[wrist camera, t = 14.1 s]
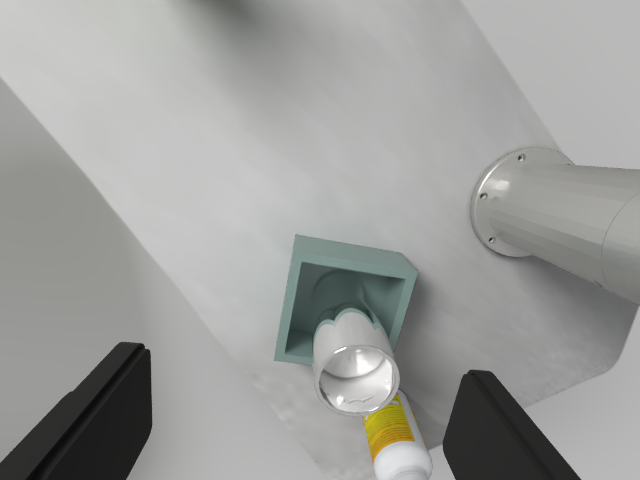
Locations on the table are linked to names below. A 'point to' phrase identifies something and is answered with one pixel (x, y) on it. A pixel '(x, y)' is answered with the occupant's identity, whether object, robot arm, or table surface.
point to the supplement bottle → (397, 442)
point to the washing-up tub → (362, 262)
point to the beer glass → (350, 350)
